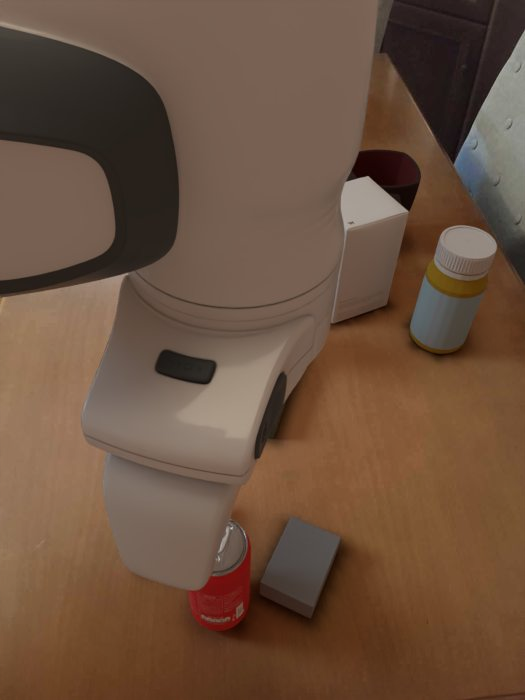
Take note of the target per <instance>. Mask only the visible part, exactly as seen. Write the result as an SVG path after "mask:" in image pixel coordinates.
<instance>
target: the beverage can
mask: <svg viewBox="0 0 525 700" xmlns="http://www.w3.org/2000/svg"><path fill="white" fill-rule="evenodd" d="M251 546H252V545H251V541H250V538H249V536H248V534H247V532H246V531H245V529H244V528H243V526H242V525H240V524H239V522H237V521H236V520H235V519H232V518H230V520H229V522H228V525H227V528H226V531H225V534H224V537H223V540H222V542H221V545H220V548H219V551H218V554H217V557H216V560H215V564H214V567H213V571H212V573H211V576H210V578H209V580H208V582H207V583H206V584H205V586H204V587H203V588H201V589H199V590H195V591H191V590H187V594H188V601H189V608H190V611H191V614H192V616H193V618H194V619H195V621H197V623H198V624H199V625H200V626H201V627H203V628H205V629H208V630H211V631H217V632H220V631H221V632H222V631H227V630H231V629H232V628H234V627H236V626H237V625H238V624H239V623H241V622H242V620H243V619H244V618H245V616H246V614H247V612H248V610H249V606H250V594H251V593H250V592H251V591H250V590H251V586H250V585H251V565H252V564H251V559H252V558H251V557H252V547H251Z"/></svg>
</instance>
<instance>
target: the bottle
mask: <svg viewBox="0 0 525 700" xmlns="http://www.w3.org/2000/svg"><path fill="white" fill-rule="evenodd" d="M497 249H498V245H497V242H496V239H494V237H493V236H492V235H491V234H489V233H488V232H487V231H485V230H483V229H481V228H478V227H476V226H472V225H463V224H461V225H460V224H459V225H458V224H457V225H451V226H450V227H447V228H446V229H444V230H443V231H442V233H441V234H440V236H439V239H438V242H437V246H436V248H435V254H434V256H433V258H432V259H431V260H430V261H429V263H428V265H427V267H426V269H425V272H424V277H423V279H422V282H421V287H420V289H419V293H418V296H417V300H416V303H415V307H414V309H413V313H412V316H411V320H410V325H409V334H410V337H411V339H412V340H413V341H414V343H415V344H416V345H417V346H419V347H420V348H421V349H423V350H425V351H427V352H429V353H432V354H437V355H443V354H450V353H453V352H457V351H458V350H460V349H461V348H462V347H463V345H464V343H466V340H467V338H468V335H469V333H470V329H471V327H472V324H473V322H474V320H475V317H476V315H477V312H478V309H479V307H480V305H481V302H482V300H483V297H484V294H485V292H486V289H487V286H488V284H489V271H490V267H491V266H492V263H493V262H494V259H495V255H496V253H497Z"/></svg>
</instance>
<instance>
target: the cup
mask: <svg viewBox="0 0 525 700" xmlns="http://www.w3.org/2000/svg"><path fill="white" fill-rule="evenodd" d="M367 176H369V177H370V178H371V179H372V180H373V181H374V182H375V183H376V184H377V185H379V186H380V187H381V188H382V189H383V190H384V191H385V192H387V193H388V194H389V195H390V196H391V197H392V198H393V199H395V200H396V201H397V202H398V203H399V204H400V205H402V206H403V207H404V208H405V209H406V210H407V211H409V213H410V212H411V209H412V207H413V205H414V202H415V200H416V197H417V194H418V191H419V188H420V183H421V180H422V172H421V169H420V167H419V165H418V164H417V162H416V160H415V159H414V158H412V157H411V156H410V155H409V154H408V153H406V152H404V151H399V150H393V149H378V148H377V149H364V150H360V151H359V153H358V156H357V159H356V162H355V164H354V166H353V168H352V170H351V172H350V174H349V176H348V178H347V180H346V182H348V181H351V180H354V179H358V178H362V177H367Z"/></svg>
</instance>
